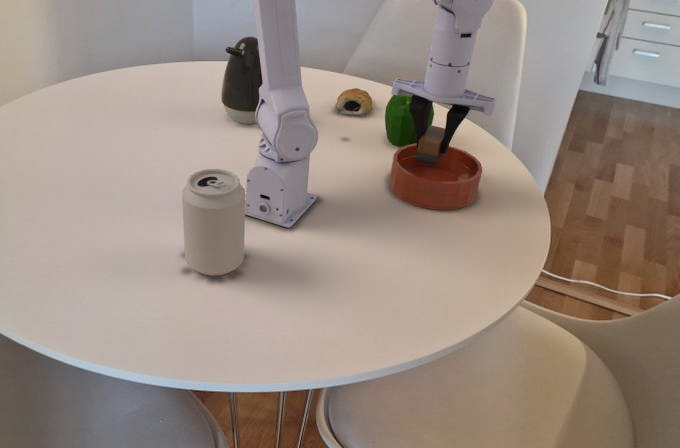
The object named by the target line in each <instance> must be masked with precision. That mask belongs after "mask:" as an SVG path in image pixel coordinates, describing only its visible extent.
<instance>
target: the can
mask: <svg viewBox="0 0 680 448" xmlns="http://www.w3.org/2000/svg"><path fill="white" fill-rule="evenodd" d="M181 199H182V220H183V221H182V223H183V224H182V225H183V243H184V244H183V245H184V261H185V262H186V264H187V266H188V267H190V268H191V269H192V270H193V271H196V272H197V273H199V274H202V275H204V276H209V277H216V276H217V277H219V276H223V275H227V274H230V273H232V272H233V271H234V270H236V269H237V268H238V267H240V265H242V264H243V261H244V259H245V231H246V230H245V224H246V223H245V221H246V214H245V205H246V190H245V188H244V186H243V185H242V184H241V179H240V178H239V176H238V175H236V174H235V173H234V172H232V171H229V170H227V169H220V168H207V169H201V170H198V171H195V172H194V173H192V174H190V176H188V178H187V180H186V184H185V186H184V187H183V189H182V191H181Z"/></svg>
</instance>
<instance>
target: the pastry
mask: <svg viewBox="0 0 680 448" xmlns="http://www.w3.org/2000/svg"><path fill="white" fill-rule="evenodd" d="M372 109H373V98H372V96H371V95H370V94H369V92H368V91H367V90H363V89H360V88H358V87H354V88H351V89H350V88H349V89H346V90H343V91H342V92H341V93H340V95H339V96H338V97H337V99H336V104H335V110H336V112H337V113H338V114H339V115H345V116H359V117H361V116H366V115H368V114H370V113H371V112H372V111H371V110H372Z"/></svg>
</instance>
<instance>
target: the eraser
mask: <svg viewBox="0 0 680 448" xmlns="http://www.w3.org/2000/svg"><path fill="white" fill-rule="evenodd" d="M444 133H445V127H440V126H437V125H433V124H432V125H430V126H429V128H428V129H427V130H426V132H425V133H424V134H423V135H422V137H421V138H420V139H419V144H418V149H417V155H416V161H419V162H423V163H426V164H430V165H434V166H435V165H436V163H437V162H438V160H439V159H440V157H441V156H442V153H440V150H441V145H442V141H443V138H444Z"/></svg>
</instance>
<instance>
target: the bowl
mask: <svg viewBox="0 0 680 448" xmlns="http://www.w3.org/2000/svg"><path fill="white" fill-rule="evenodd" d="M416 146H417V143H415V144H410V145H406V146H404V147H399V148H398V149H397V150H396V151H395V153H393V156H392V163H391V164H392V165H391V169H390V176H389V186H390V190H391V191H392V192H393V193H394V195H396V196H397V197H399V198H400V199H402V200H403V201H404V202H407V203H409V204H411V205H414V206H416V207H420V208H424V209H428V210H434V211H435V210H436V211H451V210H453V211H454V210H458V209H462V208H465V207H467V206H469V205H471V204H472V203H473V202H474V201H475V200H476V197H477V194H478V190H479V187H480V182H481V178H482V174H483V166H482V163H481V162H480V160H479V159H478V158H477V157H475V156H474V155H473V154H471V153H469V152H467V151H466V150H463V149H461V148H458V147H455V146H452V145H449V147H448V150H447V151H446V153H445V154H442V156H441V157H440V159H439V160H438V162H437V163H436V165H435V166H434V165H430V164H426V163H423V162H419V161H416V155H417V149H418V147H416Z"/></svg>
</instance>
